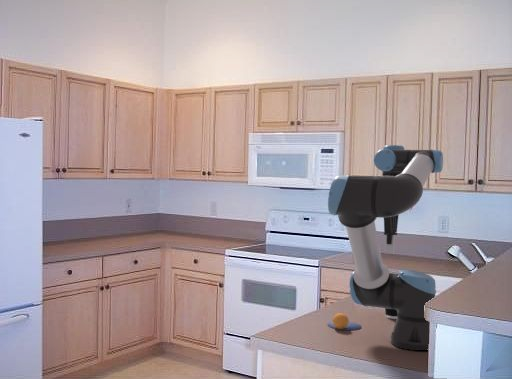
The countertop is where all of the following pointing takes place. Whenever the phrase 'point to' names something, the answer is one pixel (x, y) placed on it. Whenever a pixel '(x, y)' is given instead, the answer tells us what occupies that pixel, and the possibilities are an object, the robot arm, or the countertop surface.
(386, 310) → the dixie cup
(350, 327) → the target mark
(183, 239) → the countertop surface
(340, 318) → the ball
